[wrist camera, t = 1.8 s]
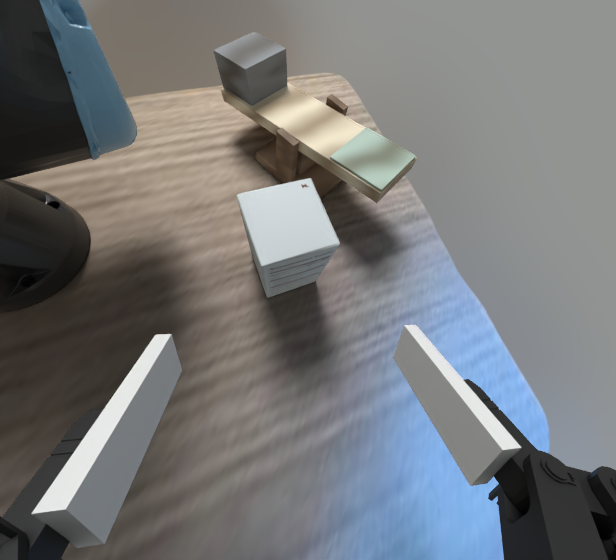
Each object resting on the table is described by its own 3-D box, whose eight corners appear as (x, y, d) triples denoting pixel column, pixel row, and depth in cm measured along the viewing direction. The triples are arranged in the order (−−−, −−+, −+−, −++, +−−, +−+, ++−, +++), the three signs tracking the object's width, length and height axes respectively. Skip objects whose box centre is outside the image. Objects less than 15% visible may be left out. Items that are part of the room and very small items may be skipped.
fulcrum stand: (256, 160, 36) (250, 109, 28) (302, 128, 39) (308, 75, 31) (310, 207, 34) (320, 168, 27) (353, 170, 38) (372, 126, 30)
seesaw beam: (224, 100, 33) (210, 51, 28) (263, 79, 35) (256, 30, 30) (376, 202, 26) (395, 163, 21) (411, 168, 29) (435, 125, 24)
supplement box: (250, 251, 31) (233, 190, 19) (299, 237, 33) (313, 174, 21) (265, 300, 29) (259, 267, 17) (317, 283, 31) (343, 243, 19)
